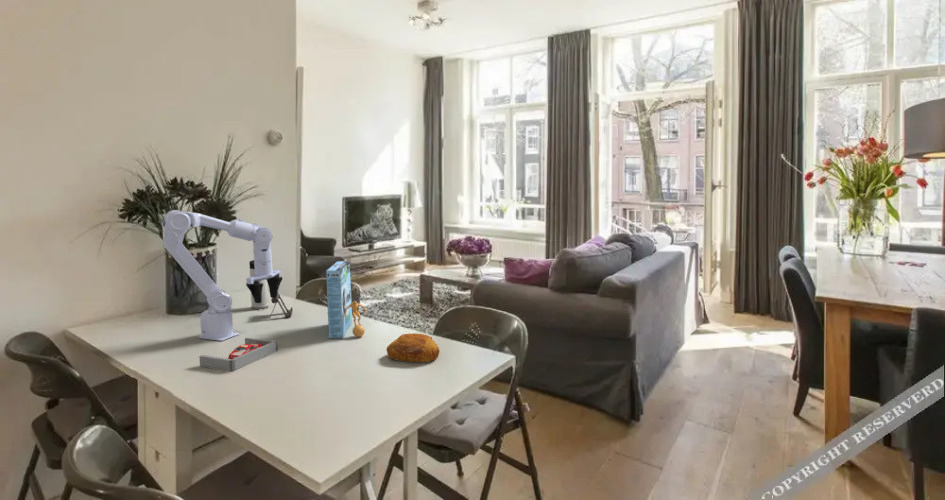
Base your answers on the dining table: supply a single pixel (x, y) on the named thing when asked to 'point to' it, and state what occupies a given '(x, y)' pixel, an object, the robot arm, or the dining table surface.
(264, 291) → the travel mug
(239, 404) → the dining table surface
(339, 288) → the blue product box
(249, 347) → the race car
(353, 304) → the figurine
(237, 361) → the grey u-shaped wall
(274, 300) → the portable electronic device stand
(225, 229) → the robot arm
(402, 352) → the croissant
